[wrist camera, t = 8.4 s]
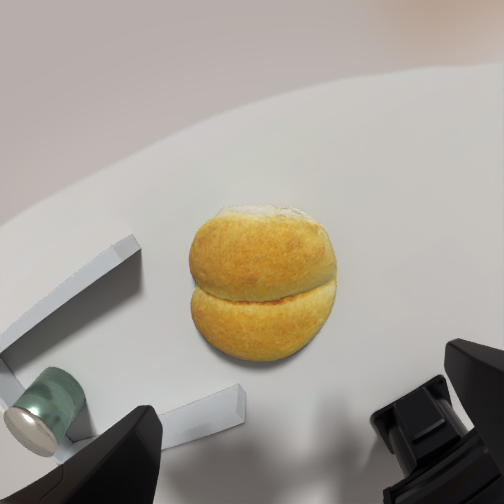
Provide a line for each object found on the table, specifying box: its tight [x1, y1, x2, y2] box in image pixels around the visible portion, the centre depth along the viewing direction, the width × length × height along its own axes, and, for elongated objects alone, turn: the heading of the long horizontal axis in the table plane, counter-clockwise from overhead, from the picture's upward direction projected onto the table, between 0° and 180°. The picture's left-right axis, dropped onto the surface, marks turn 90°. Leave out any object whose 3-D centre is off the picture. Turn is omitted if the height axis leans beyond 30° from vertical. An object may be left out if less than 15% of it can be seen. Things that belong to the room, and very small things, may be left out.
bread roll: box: [189, 205, 337, 362], centre depth 17 cm, size 8×9×4 cm
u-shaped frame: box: [0, 234, 246, 466], centre depth 20 cm, size 13×20×3 cm, turn 121°
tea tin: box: [4, 367, 85, 457], centre depth 19 cm, size 5×5×6 cm
